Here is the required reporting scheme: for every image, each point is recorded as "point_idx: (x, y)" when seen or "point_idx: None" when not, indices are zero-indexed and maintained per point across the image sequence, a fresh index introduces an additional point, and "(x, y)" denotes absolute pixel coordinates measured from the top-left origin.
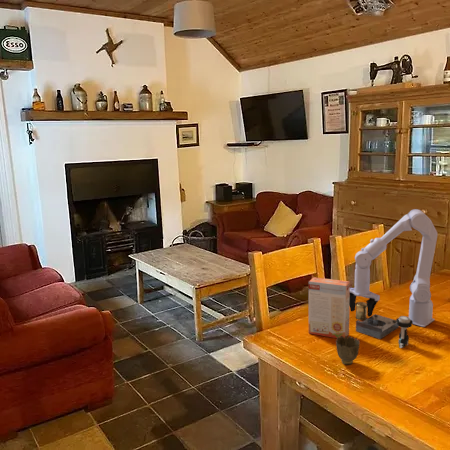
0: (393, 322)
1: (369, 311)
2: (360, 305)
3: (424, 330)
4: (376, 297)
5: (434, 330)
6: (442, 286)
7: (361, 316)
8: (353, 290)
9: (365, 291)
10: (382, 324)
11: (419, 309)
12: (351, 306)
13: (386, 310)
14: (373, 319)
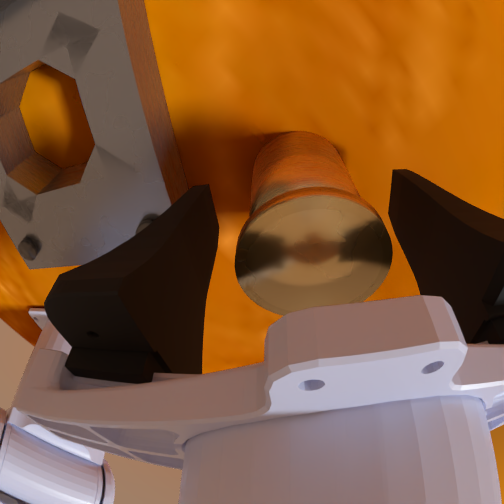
0: (18, 231)
1: (163, 212)
2: (296, 226)
3: (9, 288)
4: (27, 397)
5: (8, 307)
6: None
7: (268, 154)
8: (495, 400)
9: (180, 501)
10: (62, 176)
11: (22, 379)
12: (420, 190)
13: (259, 352)
14: (101, 156)
